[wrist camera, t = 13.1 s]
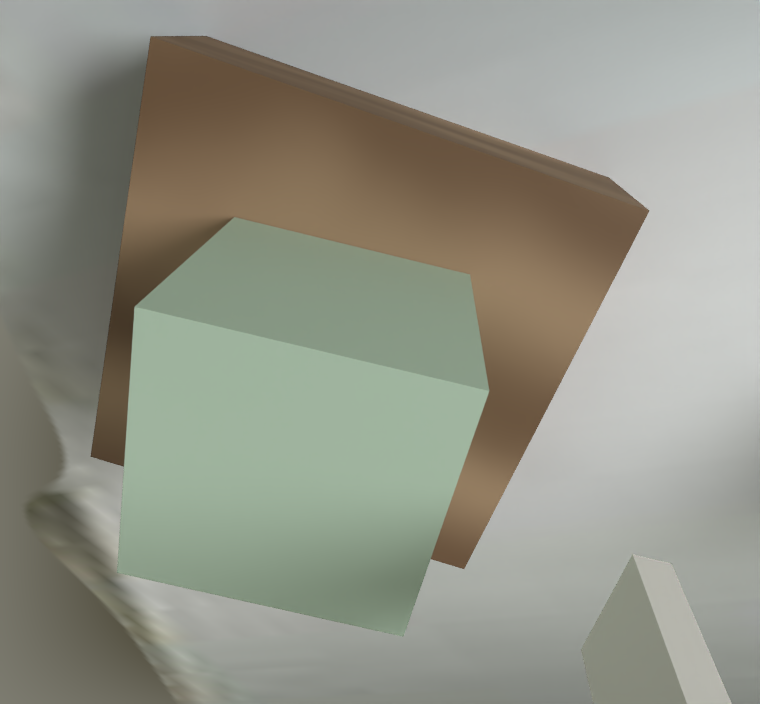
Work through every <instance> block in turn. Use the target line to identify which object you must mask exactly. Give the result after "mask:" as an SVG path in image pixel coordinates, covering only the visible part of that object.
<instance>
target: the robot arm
mask: <svg viewBox="0 0 760 704" xmlns="http://www.w3.org/2000/svg"><path fill="white" fill-rule="evenodd" d="M581 651H582V656H583V660H584V664H585V669H586V673H587V678H588V682H589V687H590V691H591V696H592V700H593V704H731V701H730V699H729V697H728V694H727V692H726V690H725V687H724V685H723V683H722V680H721V678H720V676H719V673H718V671H717V669H716V666H715V664H714V662H713V659H712V657H711V655H710V652H709V650H708V648H707V645H706V643H705V641H704V638H703V636H702V634H701V631H700V629H699V627H698V624H697V622H696V620H695V617H694V615H693V613H692V610H691V608H690V606H689V603H688V601H687V599H686V597H685V594H684V592H683V590H682V587H681V585H680V583H679V580H678V578H677V576H676V573H675V571H674V569H673V566H672V564H671V563H667V562H663V561H659V560H654V559H650V558H646V557H642V556H637V555H632V557H631V559H630V560H629V562H628V564H627V566H626V568H625V570H624V571H623V573H622V575H621V577H620V579H619V581H618V583H617V584H616V586H615V588H614V590H613V592H612V594H611V595H610V597H609V599H608V601H607V603H606V605H605V607H604V608H603V610H602V612H601V614H600V616H599V618H598V619H597V621H596V623H595V625H594V627H593V629H592V631H591V632H590V634H589V636H588V638H587V640H586V642H585V643H584V645H583V647H582V649H581Z"/></svg>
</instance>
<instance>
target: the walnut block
mask: <svg viewBox="0 0 760 704" xmlns="http://www.w3.org/2000/svg"><path fill="white" fill-rule="evenodd" d="M648 212H649V210H648V209H647V208H645V207H644V206H643V205H642V204H640V203H639V202H638V201H637V200H636V199H634V198H633V197H632V196H631V195H629V194H628V193H627V192H626V191H625V190H623V189H622V188H621V187H620V186H618V185H617V184H616V183H615V182H614V181H612V180H611V179H610V178H608V177H605V176H603V175H600V174H597V173H594V172H591V171H588V170H586V169H583V168H580V167H577V166H574V165H571V164H569V163H566V162H563V161H560V160H557V159H554V158H551V157H549V156H546V155H543V154H540V153H537V152H534V151H532V150H529V149H526V148H523V147H520V146H517V145H514V144H512V143H509V142H506V141H503V140H500V139H497V138H495V137H492V136H489V135H486V134H483V133H480V132H478V131H475V130H472V129H469V128H466V127H463V126H460V125H458V124H455V123H452V122H449V121H446V120H443V119H441V118H438V117H435V116H432V115H429V114H426V113H423V112H421V111H418V110H415V109H412V108H409V107H406V106H404V105H401V104H398V103H395V102H392V101H389V100H387V99H384V98H381V97H378V96H375V95H372V94H369V93H367V92H364V91H361V90H358V89H355V88H352V87H350V86H347V85H344V84H341V83H338V82H335V81H333V80H330V79H327V78H324V77H321V76H318V75H315V74H313V73H310V72H307V71H304V70H301V69H298V68H296V67H293V66H290V65H287V64H284V63H281V62H278V61H276V60H273V59H270V58H267V57H264V56H261V55H259V54H256V53H253V52H250V51H247V50H244V49H242V48H239V47H236V46H233V45H230V44H227V43H224V42H222V41H219V40H216V39H213V38H210V37H207V36H151V38H150V45H149V52H148V59H147V66H146V73H145V80H144V87H143V94H142V101H141V108H140V115H139V122H138V129H137V136H136V143H135V150H134V157H133V164H132V171H131V178H130V185H129V192H128V199H127V206H126V213H125V220H124V227H123V234H122V241H121V248H120V255H119V262H118V269H117V276H116V283H115V290H114V297H113V304H112V311H111V318H110V325H109V332H108V339H107V346H106V353H105V360H104V367H103V374H102V381H101V388H100V395H99V402H98V409H97V416H96V423H95V430H94V437H93V444H92V451H91V457H94V458H97V459H100V460H104V461H107V462H110V463H114V464H117V465H120V466H124V460H125V445H126V430H127V414H128V399H129V384H130V369H131V354H132V338H133V323H134V308H135V306H136V305H137V304H138V303H139V302H140V301H141V300H143V299H144V298H145V297H146V296H147V295H148V294H149V293H150V292H152V291H153V290H154V289H155V288H156V287H157V286H158V285H159V284H160V283H162V282H163V281H164V280H165V279H166V278H167V277H168V276H169V275H170V274H172V273H173V272H174V271H175V270H176V269H177V268H178V267H179V266H180V265H182V264H183V263H184V262H185V261H186V260H187V259H188V258H189V257H191V256H192V255H193V254H194V253H195V252H196V251H197V250H198V249H199V248H201V247H202V246H203V245H204V244H205V243H206V242H207V241H208V240H209V239H211V238H212V237H213V236H214V235H215V234H216V233H217V232H218V231H219V230H221V229H222V228H223V227H224V226H225V225H226V224H227V223H228V222H230V221H231V220H232V219H233V218H234V217H236V218H240V219H244V220H249V221H253V222H257V223H261V224H265V225H269V226H273V227H277V228H281V229H285V230H290V231H294V232H298V233H302V234H306V235H310V236H314V237H318V238H322V239H326V240H331V241H335V242H339V243H343V244H347V245H351V246H355V247H359V248H363V249H367V250H372V251H376V252H380V253H384V254H388V255H392V256H396V257H400V258H404V259H408V260H412V261H417V262H421V263H425V264H429V265H433V266H437V267H441V268H445V269H449V270H453V271H458V272H462V273H466V274H470V277H471V283H472V289H473V295H474V302H475V308H476V314H477V320H478V326H479V332H480V338H481V344H482V350H483V356H484V362H485V368H486V374H487V380H488V386H489V393H488V396H487V399H486V402H485V405H484V408H483V411H482V413H481V416H480V419H479V422H478V425H477V428H476V431H475V433H474V436H473V439H472V442H471V445H470V448H469V450H468V453H467V456H466V459H465V462H464V465H463V468H462V470H461V473H460V476H459V479H458V482H457V485H456V488H455V490H454V493H453V496H452V499H451V502H450V505H449V508H448V510H447V513H446V516H445V519H444V522H443V525H442V528H441V530H440V533H439V536H438V539H437V542H436V545H435V547H434V550H433V553H432V556H431V559H432V560H436V561H439V562H442V563H446V564H449V565H452V566H456V567H459V568H462V569H464V568H465V566H466V564H467V562H468V560H469V558H470V557H471V555H472V553H473V551H474V549H475V547H476V545H477V543H478V541H479V539H480V537H481V535H482V533H483V531H484V529H485V528H486V526H487V524H488V522H489V520H490V518H491V516H492V514H493V512H494V510H495V508H496V506H497V504H498V502H499V500H500V499H501V497H502V495H503V493H504V491H505V489H506V487H507V485H508V483H509V481H510V479H511V477H512V475H513V473H514V471H515V470H516V468H517V466H518V464H519V462H520V460H521V458H522V456H523V454H524V452H525V450H526V448H527V446H528V444H529V442H530V441H531V439H532V437H533V435H534V433H535V431H536V429H537V427H538V425H539V423H540V421H541V419H542V417H543V415H544V413H545V412H546V410H547V408H548V406H549V404H550V402H551V400H552V398H553V396H554V394H555V392H556V390H557V388H558V386H559V384H560V383H561V381H562V379H563V377H564V375H565V373H566V371H567V369H568V367H569V365H570V363H571V361H572V359H573V357H574V355H575V354H576V352H577V350H578V348H579V346H580V344H581V342H582V340H583V338H584V336H585V334H586V332H587V330H588V328H589V326H590V325H591V323H592V321H593V319H594V317H595V315H596V313H597V311H598V309H599V307H600V305H601V303H602V301H603V299H604V297H605V296H606V294H607V292H608V290H609V288H610V286H611V284H612V282H613V280H614V278H615V276H616V274H617V272H618V270H619V268H620V267H621V265H622V263H623V261H624V259H625V257H626V255H627V253H628V251H629V249H630V247H631V245H632V243H633V241H634V239H635V237H636V236H637V234H638V232H639V230H640V228H641V226H642V224H643V222H644V220H645V218H646V216H647V214H648Z"/></svg>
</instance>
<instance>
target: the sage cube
mask: <svg viewBox="0 0 760 704" xmlns="http://www.w3.org/2000/svg"><path fill="white" fill-rule="evenodd" d="M488 393H489V386H488V380H487V374H486V368H485V362H484V356H483V350H482V344H481V338H480V332H479V326H478V320H477V314H476V308H475V302H474V295H473V289H472V283H471V277H470V274H466V273H462V272H458V271H453V270H449V269H445V268H441V267H437V266H433V265H429V264H425V263H421V262H417V261H412V260H408V259H404V258H400V257H396V256H392V255H388V254H384V253H380V252H376V251H372V250H367V249H363V248H359V247H355V246H351V245H347V244H343V243H339V242H335V241H331V240H326V239H322V238H318V237H314V236H310V235H306V234H302V233H298V232H294V231H290V230H285V229H281V228H277V227H273V226H269V225H265V224H261V223H257V222H253V221H249V220H244V219H240V218H236V217H234V218H233V219H232V220H231V221H230V222H228V223H227V224H226V225H225V226H224V227H223V228H222V229H221V230H219V231H218V232H217V233H216V234H215V235H214V236H213V237H212V238H211V239H209V240H208V241H207V242H206V243H205V244H204V245H203V246H202V247H201V248H199V249H198V250H197V251H196V252H195V253H194V254H193V255H192V256H191V257H189V258H188V259H187V260H186V261H185V262H184V263H183V264H182V265H180V266H179V267H178V268H177V269H176V270H175V271H174V272H173V273H172V274H170V275H169V276H168V277H167V278H166V279H165V280H164V281H163V282H162V283H160V284H159V285H158V286H157V287H156V288H155V289H154V290H153V291H152V292H150V293H149V294H148V295H147V296H146V297H145V298H144V299H143V300H141V301H140V302H139V303H138V304H137V305H136V306H135V308H134V323H133V338H132V354H131V369H130V384H129V399H128V414H127V430H126V445H125V460H124V475H123V490H122V505H121V521H120V536H119V551H118V566H117V573H121V574H125V575H130V576H134V577H139V578H143V579H148V580H152V581H156V582H161V583H165V584H170V585H174V586H179V587H183V588H188V589H192V590H197V591H201V592H206V593H210V594H215V595H219V596H224V597H228V598H233V599H237V600H242V601H246V602H250V603H255V604H259V605H264V606H268V607H273V608H277V609H282V610H286V611H291V612H295V613H300V614H304V615H309V616H313V617H318V618H322V619H327V620H331V621H336V622H340V623H344V624H349V625H353V626H358V627H362V628H367V629H371V630H376V631H380V632H385V633H389V634H394V635H398V636H404V633H405V630H406V627H407V625H408V622H409V619H410V616H411V613H412V610H413V607H414V605H415V602H416V599H417V596H418V593H419V590H420V587H421V585H422V582H423V579H424V576H425V573H426V570H427V567H428V565H429V562H430V559H431V556H432V553H433V550H434V547H435V545H436V542H437V539H438V536H439V533H440V530H441V528H442V525H443V522H444V519H445V516H446V513H447V510H448V508H449V505H450V502H451V499H452V496H453V493H454V490H455V488H456V485H457V482H458V479H459V476H460V473H461V470H462V468H463V465H464V462H465V459H466V456H467V453H468V450H469V448H470V445H471V442H472V439H473V436H474V433H475V431H476V428H477V425H478V422H479V419H480V416H481V413H482V411H483V408H484V405H485V402H486V399H487V396H488Z"/></svg>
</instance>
